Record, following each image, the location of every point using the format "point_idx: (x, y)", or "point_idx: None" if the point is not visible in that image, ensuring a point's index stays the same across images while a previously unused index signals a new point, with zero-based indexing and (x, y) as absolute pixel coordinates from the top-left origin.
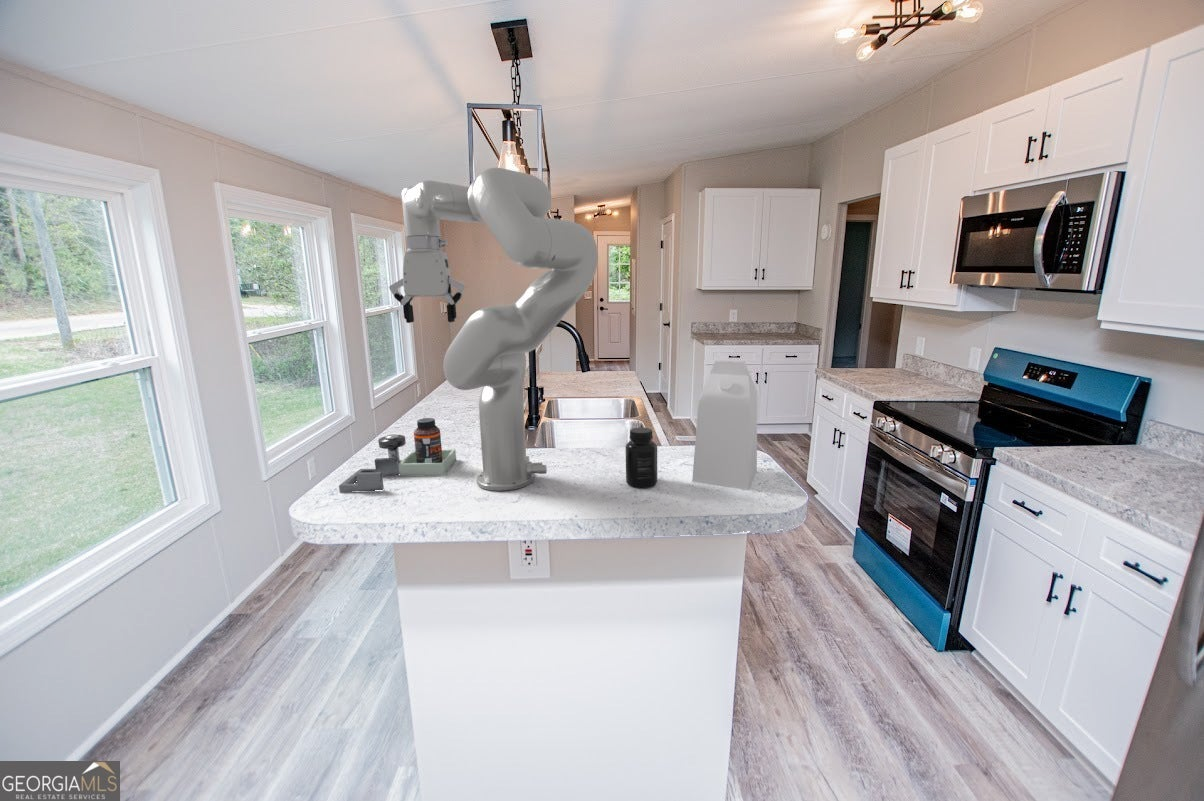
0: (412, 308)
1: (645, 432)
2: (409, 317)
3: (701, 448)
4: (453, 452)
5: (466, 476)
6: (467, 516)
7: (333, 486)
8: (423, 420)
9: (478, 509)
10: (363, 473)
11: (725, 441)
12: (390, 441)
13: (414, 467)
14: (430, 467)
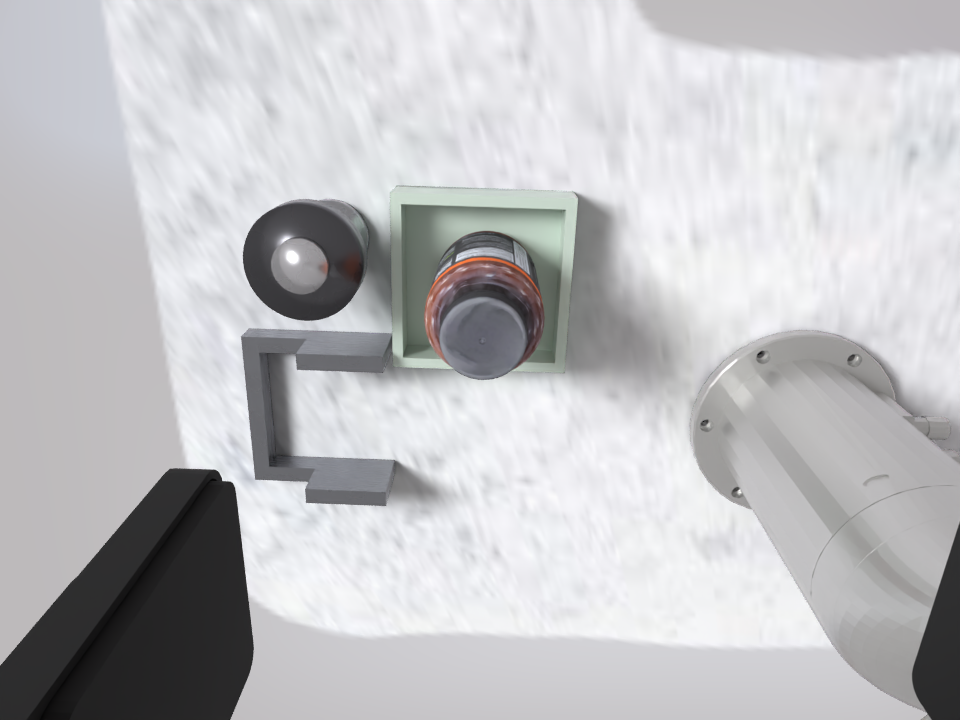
0: (112, 682)
1: None
2: (226, 714)
3: None
4: (575, 229)
5: (644, 373)
6: (686, 633)
7: (212, 420)
8: (474, 351)
9: (710, 601)
10: (328, 499)
11: None
12: (317, 311)
13: None
14: None
